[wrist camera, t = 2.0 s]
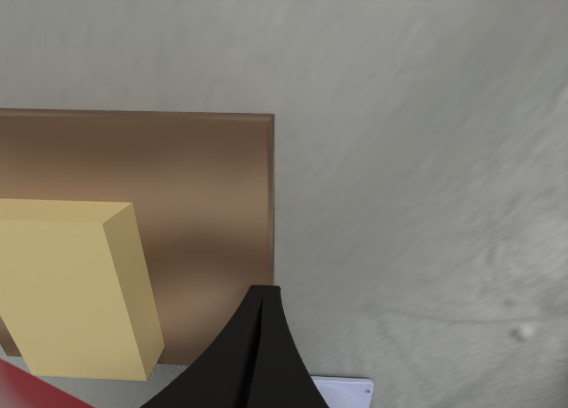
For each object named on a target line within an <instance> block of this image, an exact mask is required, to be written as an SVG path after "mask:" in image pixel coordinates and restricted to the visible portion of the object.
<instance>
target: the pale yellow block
mask: <svg viewBox="0 0 568 408" xmlns="http://www.w3.org/2000/svg"><path fill="white" fill-rule="evenodd" d="M0 316H1V318H2V320H3V321H4V323H5V325H6V327H7V329H8V331H9V333H10V334H11V336H12V338H13V340H14V342H15V344H16V346H17V347H18V349H19V351H20V353H21V355H22V357H23V358H24V360H25V362H26V364H27V366H28V368H29V370H30V371H31V373H32V375H38V376H57V377H76V378H95V379H115V380H134V381H148V379H149V377H150V375H151V373H152V371H153V369H154V367H155V365H156V363H157V361H158V359H159V357H160V355H161V353H162V351H163V349H164V347H165V345H164V340H163V336H162V332H161V327H160V323H159V318H158V314H157V310H156V305H155V301H154V296H153V292H152V288H151V283H150V279H149V275H148V270H147V266H146V261H145V257H144V253H143V248H142V244H141V240H140V235H139V231H138V226H137V222H136V218H135V213H134V209H133V204H132V203H127V202H95V201H63V200H31V199H0Z"/></svg>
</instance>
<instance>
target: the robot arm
mask: <svg viewBox="0 0 568 408" xmlns="http://www.w3.org/2000/svg"><path fill="white" fill-rule="evenodd" d="M373 389H374V385H373V382H372V380H370V379H359V378H339V377H320V376H310V374H309V373H308V371H307V369H306V367H305V365H304V363H303V361H302V359H301V357H300V355H299V353H298V350H297V348H296V346H295V343H294V341H293V338H292V336H291V333H290V330H289V327H288V325H287V321H286V318H285V314H284V311H283V307H282V302H281V294H280V287H279V286H272V285H251V286H250V287H249V290H248V292H247V293H246V295H245V297H244V299H243V300H242V302H241V304H240V305H239V307H238V308H237V310H236V311H235V313H234V314H233V316H232V317H231V319H230V320H229V321H228V323H227V324H226V325H225V327H224V328H223V329H222V331H221V332H220V333H219V334H218V336H217V337H216V338H215V339H214V340H213V342H212V343H211V344H210V345H209V346H208V347H207V348H206V349H205V351H204V352H203V353H202V354H201V355H200V356H199V357H198V358H197V359H196V360H195V361H194V362H193V363H192V364H191V365H190V366H189V367H188V368H187V369H186V370H185V371H184V372H183V373H181V374H180V375H179V376H178V377H177V378H176V379H175V380H173V381H172V382H171V383H170V384H169V385H168V386H167V387H165V388H164V389H163V390H162V391H161V392H159V393H158V394H157V395H156V396H154V397H153V398H152V399H150V400H149V401H148V402H147V403H145V404H144V405H143V406H141V407H140V408H369V406H370V402H371V397H372V393H373Z"/></svg>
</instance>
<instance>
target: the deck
mask: <svg viewBox="0 0 568 408" xmlns="http://www.w3.org/2000/svg"><path fill="white" fill-rule="evenodd" d="M0 199H31V200H63V201H95V202H127V203H132V204H133V209H134V213H135V218H136V222H137V226H138V231H139V235H140V240H141V244H142V248H143V253H144V257H145V261H146V266H147V270H148V275H149V279H150V283H151V288H152V292H153V296H154V301H155V305H156V310H157V314H158V318H159V323H160V327H161V332H162V336H163V340H164V345H165V347H164V349H163V351H162V353H161V355H160V357H159V359H158V361H157V364H177V365H191V364H192V363H193V362H194V361H195V360H196V359H197V358H198V357H199V356H200V355H201V354H202V353H203V352H204V351H205V349H206V348H207V347H208V346H209V345H210V344H211V343H212V342H213V340H214V339H215V338H216V337H217V336H218V334H219V333H220V332H221V331H222V329H223V328H224V327H225V325H226V324H227V323H228V321H229V320H230V319H231V317H232V316H233V314H234V313H235V311H236V310H237V308H238V307H239V305H240V304H241V302H242V300H243V299H244V297H245V295H246V293H247V292H248V290H249V287H250V286H251V285H272V286H274V114H252V113H203V112H154V111H105V110H57V109H8V108H0ZM0 344H1V346H2V348H3V350H4V351H5V353H6V355H7V356H18V357H22V355H21V353H20V351H19V349H18V347H17V346H16V344H15V342H14V340H13V338H12V336H11V334H10V333H9V331H8V329H7V327H6V325H5V323H4V321H3V320H2V318H1V316H0Z"/></svg>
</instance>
